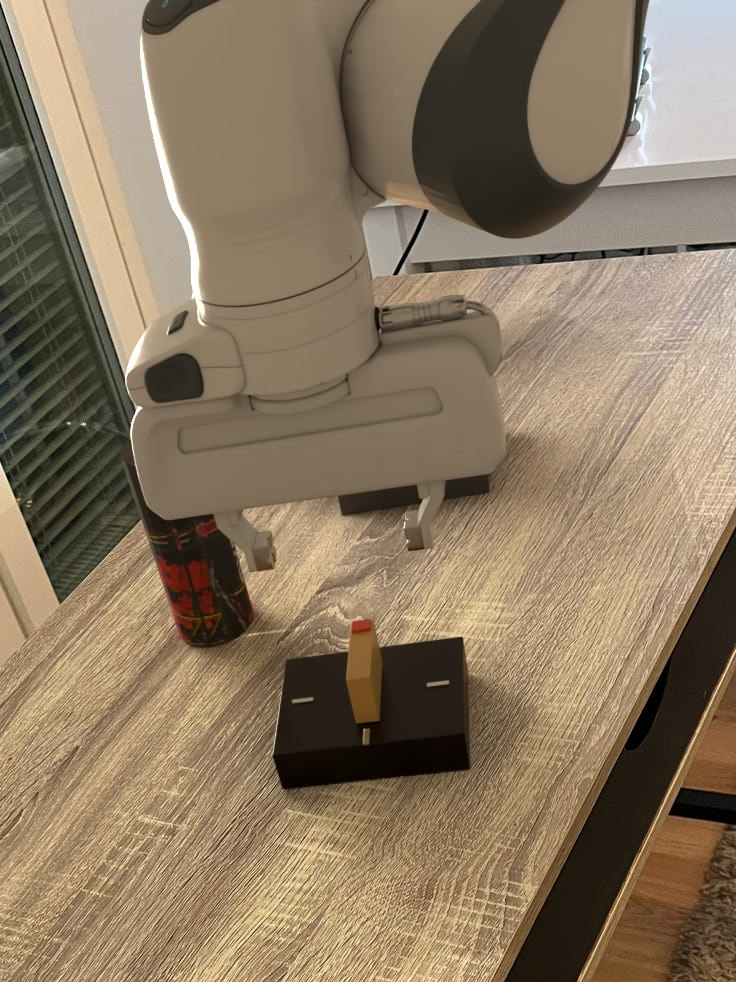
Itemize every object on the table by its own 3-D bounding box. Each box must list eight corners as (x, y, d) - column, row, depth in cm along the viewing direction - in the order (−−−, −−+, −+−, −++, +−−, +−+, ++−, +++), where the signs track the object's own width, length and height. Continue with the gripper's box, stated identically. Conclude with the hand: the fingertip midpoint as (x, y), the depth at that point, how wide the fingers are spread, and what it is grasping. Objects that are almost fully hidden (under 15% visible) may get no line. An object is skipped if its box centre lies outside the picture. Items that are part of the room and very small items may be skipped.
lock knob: (379, 721, 80) (369, 673, 78) (355, 724, 80) (344, 676, 78) (382, 663, 84) (373, 616, 82) (360, 666, 85) (349, 619, 82)
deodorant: (169, 620, 100) (110, 444, 90) (238, 591, 100) (187, 413, 90) (193, 657, 95) (133, 475, 85) (265, 626, 96) (215, 443, 86)
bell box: (487, 433, 109) (481, 389, 106) (489, 493, 102) (484, 447, 99) (348, 456, 112) (339, 414, 109) (341, 516, 105) (332, 472, 102)
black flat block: (468, 671, 87) (462, 632, 84) (470, 771, 79) (464, 731, 77) (295, 692, 89) (285, 656, 87) (282, 791, 82) (271, 753, 80)
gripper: (496, 262, 65) (521, 502, 75) (120, 332, 71) (188, 548, 80) (495, 314, 61) (522, 562, 70) (95, 384, 66) (169, 606, 76)
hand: (341, 555), depth 75 cm, fingers open, 8 cm apart
